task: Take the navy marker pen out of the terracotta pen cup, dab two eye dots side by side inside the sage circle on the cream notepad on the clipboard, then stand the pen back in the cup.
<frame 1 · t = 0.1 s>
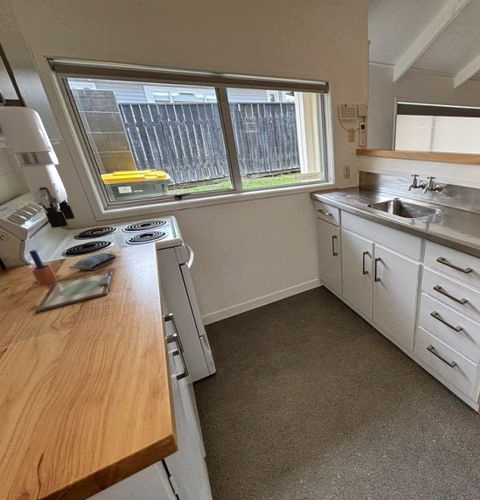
hand: (64, 222, 80), 23 cm above the counter, tool pointing down, fingers open, 9 cm apart
packaged food: (96, 267, 109), on the counter
pen cup: (48, 283, 97), on the counter
pen: (48, 281, 97), resting on pen cup
clipboard: (79, 290, 92), on the counter
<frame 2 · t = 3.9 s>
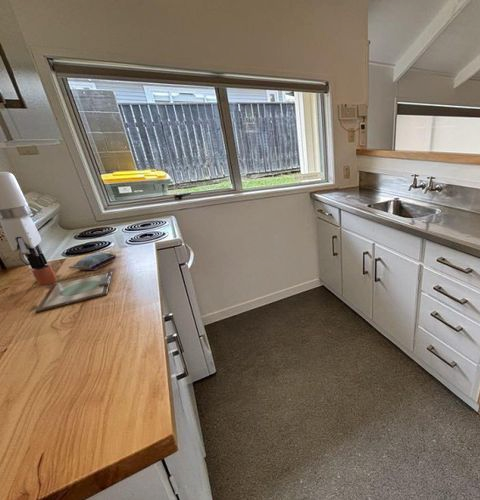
hand: (40, 265, 95), 7 cm above the counter, tool pointing down, fingers closed on pen, 1 cm apart
pen: (48, 281, 97), resting on pen cup, touching gripper
everything else where it was.
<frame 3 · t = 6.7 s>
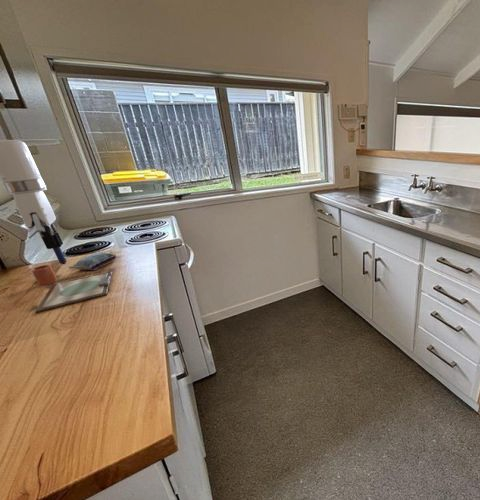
hand: (55, 246, 87), 15 cm above the counter, tool pointing down, fingers closed on pen, 1 cm apart
pen: (64, 264, 89), point 9 cm above the counter, touching gripper
everything else where it was.
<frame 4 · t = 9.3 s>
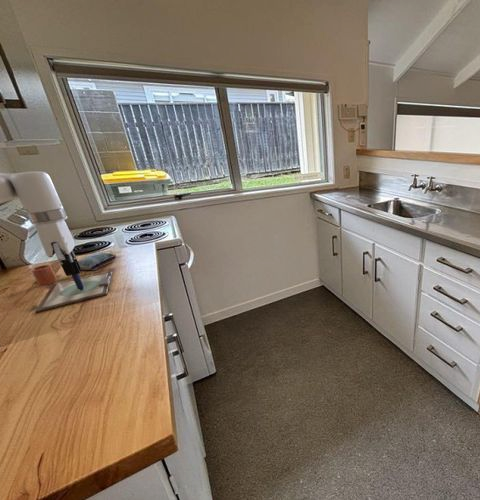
hand: (74, 272, 88), 7 cm above the counter, tool pointing down, fingers closed on pen, 1 cm apart
pen: (81, 289, 90), point 1 cm above the counter, touching clipboard, gripper
everything else where it was.
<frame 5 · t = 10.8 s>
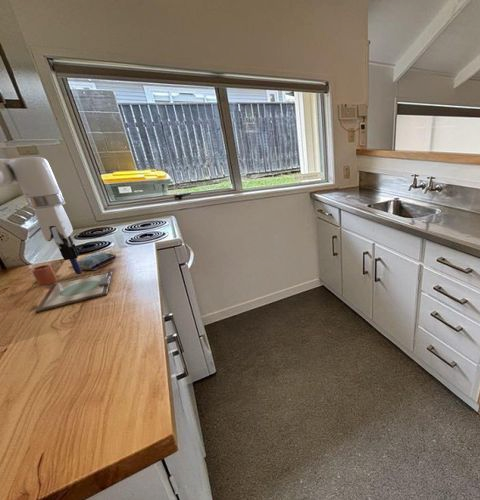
hand: (72, 257, 90), 11 cm above the counter, tool pointing down, fingers closed on pen, 1 cm apart
pen: (79, 274, 93), point 4 cm above the counter, touching gripper
everything else where it was.
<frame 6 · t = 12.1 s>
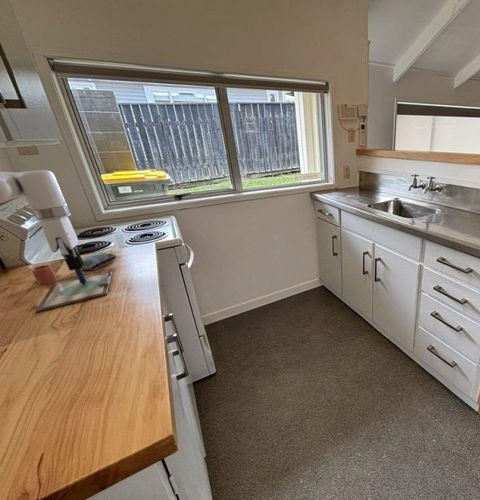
hand: (77, 267, 92), 7 cm above the counter, tool pointing down, fingers closed on pen, 1 cm apart
pen: (84, 283, 94), point 1 cm above the counter, touching clipboard, gripper
everything else where it was.
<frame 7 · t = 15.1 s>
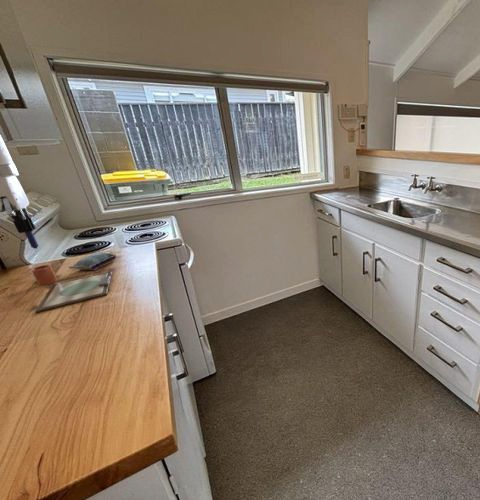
hand: (27, 230, 90), 19 cm above the counter, tool pointing down, fingers closed on pen, 1 cm apart
pen: (35, 248, 92), point 13 cm above the counter, touching gripper
everything else where it was.
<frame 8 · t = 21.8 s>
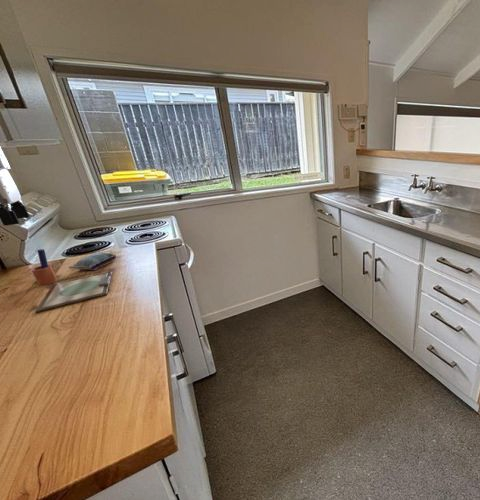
hand: (17, 221, 89), 22 cm above the counter, tool pointing down, fingers open, 9 cm apart
pen: (48, 281, 97), point 1 cm above the counter, tilted 9°, touching pen cup
everything else where it was.
at the end: pen 0.1 cm off-centre in the pen cup, point 0.5 cm above the pen cup's base; pen tilted 9°; the gripper is holding nothing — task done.
